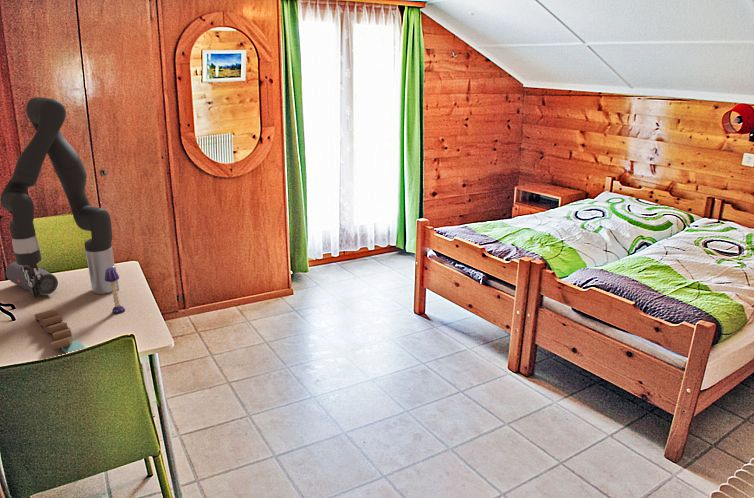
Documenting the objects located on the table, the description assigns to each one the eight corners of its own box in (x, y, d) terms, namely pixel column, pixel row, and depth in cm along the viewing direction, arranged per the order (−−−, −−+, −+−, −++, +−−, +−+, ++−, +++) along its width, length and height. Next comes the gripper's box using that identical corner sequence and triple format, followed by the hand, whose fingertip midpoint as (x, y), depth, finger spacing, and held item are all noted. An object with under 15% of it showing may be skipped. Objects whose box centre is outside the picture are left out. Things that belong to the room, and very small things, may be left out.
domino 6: (60, 345, 184) (72, 357, 177) (77, 340, 187) (89, 351, 181) (62, 351, 185) (73, 363, 178) (78, 345, 188) (90, 357, 181)
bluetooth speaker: (6, 287, 229) (1, 264, 225) (30, 280, 236) (26, 257, 233) (37, 301, 217) (31, 277, 214) (61, 293, 224) (56, 269, 221)
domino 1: (34, 314, 203) (40, 314, 195) (50, 310, 206) (56, 309, 199) (36, 320, 203) (42, 319, 195) (51, 315, 206) (58, 315, 199)
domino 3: (43, 325, 195) (49, 327, 187) (59, 321, 198) (66, 322, 191) (44, 331, 195) (51, 333, 188) (60, 326, 198) (68, 328, 191)
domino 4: (53, 332, 191) (52, 334, 182) (70, 327, 193) (69, 329, 184) (55, 337, 191) (54, 340, 182) (71, 333, 193) (71, 335, 185)
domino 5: (54, 339, 186) (50, 343, 177) (71, 334, 188) (68, 338, 179) (56, 345, 186) (52, 350, 177) (73, 340, 188) (70, 344, 179)
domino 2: (39, 320, 199) (44, 319, 191) (54, 315, 202) (61, 315, 194) (40, 325, 199) (46, 325, 191) (56, 321, 202) (62, 321, 194)
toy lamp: (117, 315, 207) (110, 271, 201) (107, 313, 208) (100, 269, 203) (127, 309, 211) (121, 267, 205) (117, 307, 213) (110, 265, 207)
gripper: (6, 247, 198) (17, 293, 204) (22, 256, 190) (32, 304, 196) (30, 241, 204) (39, 287, 210) (46, 250, 196) (55, 297, 202)
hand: (36, 295), depth 203 cm, fingers closed
